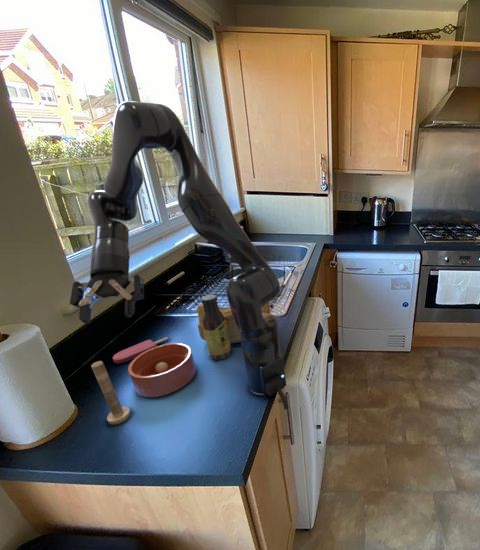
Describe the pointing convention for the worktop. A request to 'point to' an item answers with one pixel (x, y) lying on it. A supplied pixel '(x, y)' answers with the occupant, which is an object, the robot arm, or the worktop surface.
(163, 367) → the dough ball
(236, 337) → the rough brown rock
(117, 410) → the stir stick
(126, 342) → the worktop surface
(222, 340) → the sauce bottle
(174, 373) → the mixing bowl
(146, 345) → the popsicle
